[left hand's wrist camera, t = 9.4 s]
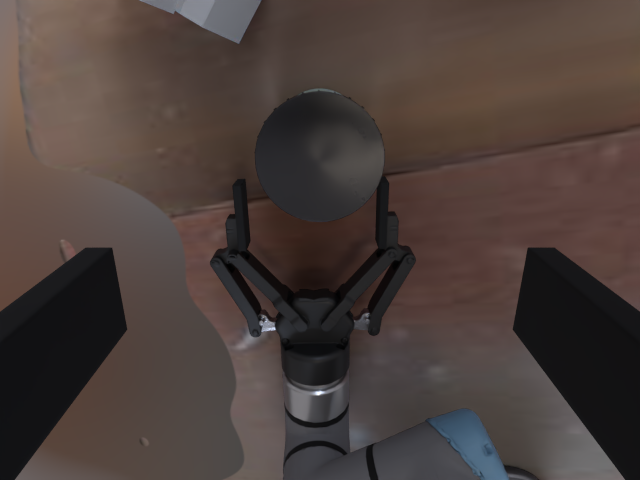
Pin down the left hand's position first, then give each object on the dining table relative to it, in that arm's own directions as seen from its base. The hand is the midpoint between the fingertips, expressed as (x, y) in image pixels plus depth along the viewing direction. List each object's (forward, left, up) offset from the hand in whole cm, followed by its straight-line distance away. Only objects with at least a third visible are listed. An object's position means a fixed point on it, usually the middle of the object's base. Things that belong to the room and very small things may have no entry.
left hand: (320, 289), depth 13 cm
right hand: (+4, 0, -29) cm, 29 cm away
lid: (0, 0, -21) cm, 21 cm away
